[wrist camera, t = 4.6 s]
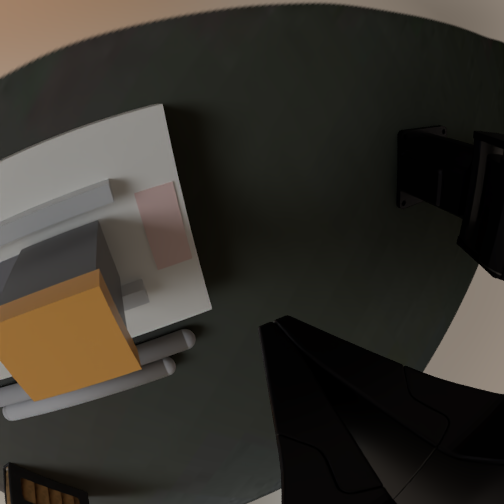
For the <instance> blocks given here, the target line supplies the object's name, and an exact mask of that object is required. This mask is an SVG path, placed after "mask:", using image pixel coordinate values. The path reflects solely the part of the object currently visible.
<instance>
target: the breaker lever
mask: <svg viewBox="0 0 504 504" xmlns="http://www.w3.org/2000/svg"><path fill="white" fill-rule="evenodd" d="M0 361H1V362H2V364H3V365H4V366H5V368H6V369H7V370H8V371H9V373H10V374H11V375H12V376H13V378H14V379H15V380H16V381H17V383H18V384H19V385H20V386H21V387H22V388H23V390H24V391H25V392H26V393H27V394H28V395H29V397H30V398H31V399H32V400H33V401H34V402H35V401H39V400H43V399H46V398H50V397H54V396H57V395H61V394H64V393H68V392H71V391H75V390H78V389H81V388H85V387H88V386H91V385H95V384H98V383H101V382H104V381H107V380H110V379H114V378H117V377H120V376H123V375H126V374H129V373H132V372H135V371H138V370H141V369H142V367H141V363H140V358H139V354H138V349H137V347H136V346H135V344H134V342H133V340H132V338H131V336H130V334H129V332H128V330H127V325H126V319H125V312H124V306H123V298H122V291H121V283H120V276H119V274H118V271H117V269H116V266H115V264H114V261H113V259H112V256H111V254H110V251H109V248H108V246H107V243H106V240H105V238H104V235H103V232H102V229H101V227H100V224H99V221H98V220H96V221H94V222H91V223H88V224H85V225H83V226H80V227H77V228H75V229H72V230H69V231H67V232H64V233H61V234H59V235H56V236H54V237H51V238H49V239H46V240H44V241H41V242H39V243H36V244H34V245H31V246H29V247H26V248H24V249H22V250H21V251H20V254H19V256H18V258H17V260H16V262H15V264H14V266H13V268H12V270H11V273H10V275H9V277H8V279H7V282H6V284H5V286H4V289H3V291H2V293H1V296H0Z"/></svg>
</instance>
